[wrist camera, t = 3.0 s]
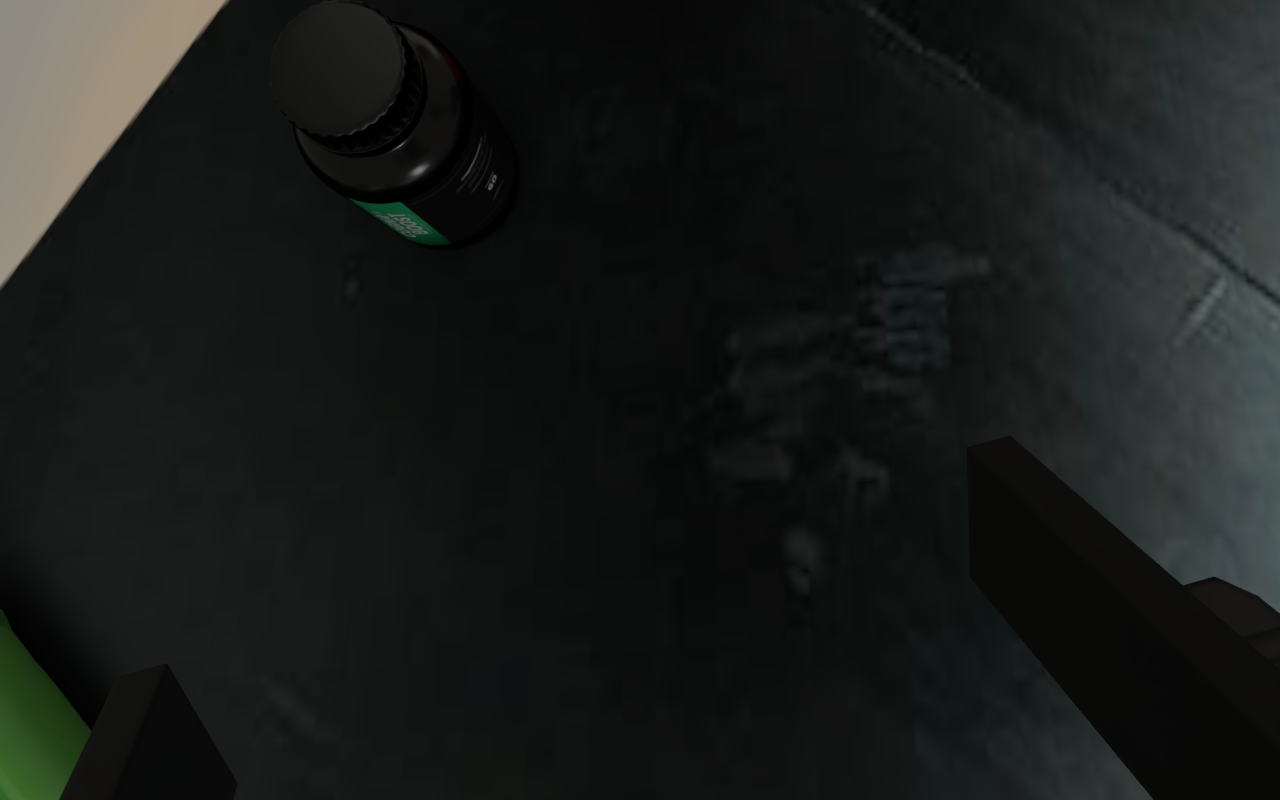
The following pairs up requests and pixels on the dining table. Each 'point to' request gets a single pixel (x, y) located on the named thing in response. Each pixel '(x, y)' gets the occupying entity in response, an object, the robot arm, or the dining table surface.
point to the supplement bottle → (394, 124)
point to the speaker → (34, 726)
